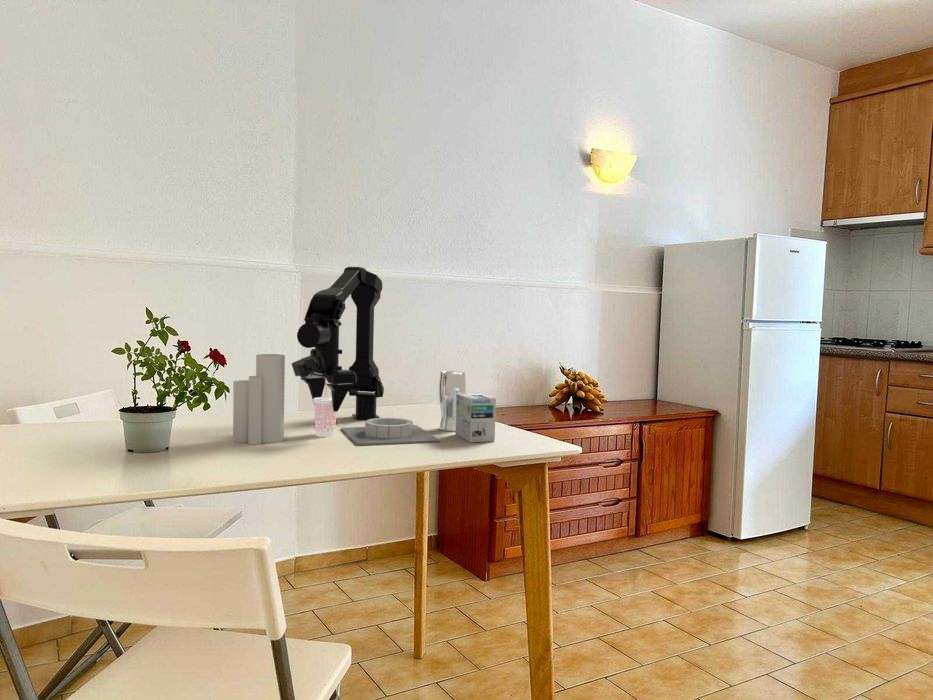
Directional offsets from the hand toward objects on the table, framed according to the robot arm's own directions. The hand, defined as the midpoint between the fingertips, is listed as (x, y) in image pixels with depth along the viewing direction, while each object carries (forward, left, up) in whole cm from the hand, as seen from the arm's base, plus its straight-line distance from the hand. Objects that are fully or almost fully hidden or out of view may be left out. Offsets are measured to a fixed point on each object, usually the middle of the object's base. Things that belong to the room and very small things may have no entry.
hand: (325, 408), depth 180 cm
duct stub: (+4, +15, -6) cm, 17 cm away
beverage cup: (0, 0, -7) cm, 7 cm away
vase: (+4, -16, -7) cm, 18 cm away
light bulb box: (+11, +35, -7) cm, 37 cm away
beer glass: (-1, +33, -7) cm, 34 cm away
